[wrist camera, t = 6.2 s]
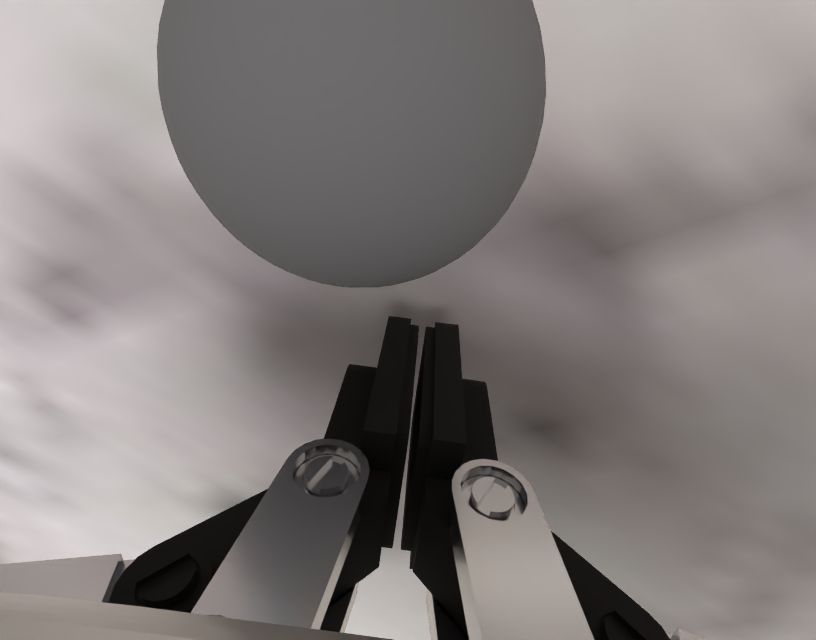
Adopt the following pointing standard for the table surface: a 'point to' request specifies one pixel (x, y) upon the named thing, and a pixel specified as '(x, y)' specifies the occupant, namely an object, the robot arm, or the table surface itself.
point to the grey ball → (354, 125)
